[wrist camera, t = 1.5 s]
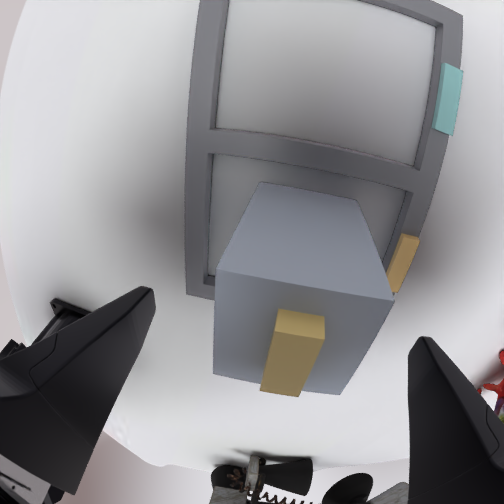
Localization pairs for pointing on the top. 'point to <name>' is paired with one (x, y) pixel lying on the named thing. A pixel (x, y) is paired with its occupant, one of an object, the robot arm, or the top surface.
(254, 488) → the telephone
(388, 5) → the dock
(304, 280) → the plug
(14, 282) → the top surface
